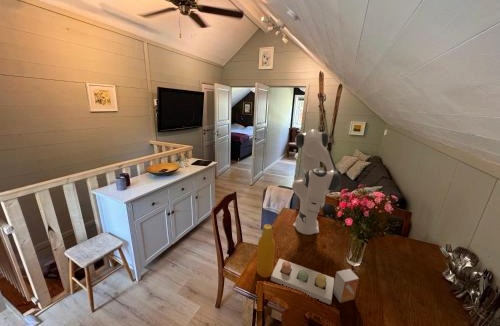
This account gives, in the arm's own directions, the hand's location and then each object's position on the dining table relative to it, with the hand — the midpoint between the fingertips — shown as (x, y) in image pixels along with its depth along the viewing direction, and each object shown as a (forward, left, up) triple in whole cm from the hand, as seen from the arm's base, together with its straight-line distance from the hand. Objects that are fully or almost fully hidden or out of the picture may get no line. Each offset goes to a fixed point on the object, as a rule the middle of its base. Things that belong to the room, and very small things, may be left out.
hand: (312, 224), depth 110 cm
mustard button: (+10, +9, -27) cm, 30 cm away
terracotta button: (+10, -9, -27) cm, 30 cm away
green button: (+10, 0, -29) cm, 30 cm away
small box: (+9, +20, -29) cm, 37 cm away
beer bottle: (+13, -20, -29) cm, 38 cm away
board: (+10, 0, -29) cm, 31 cm away
